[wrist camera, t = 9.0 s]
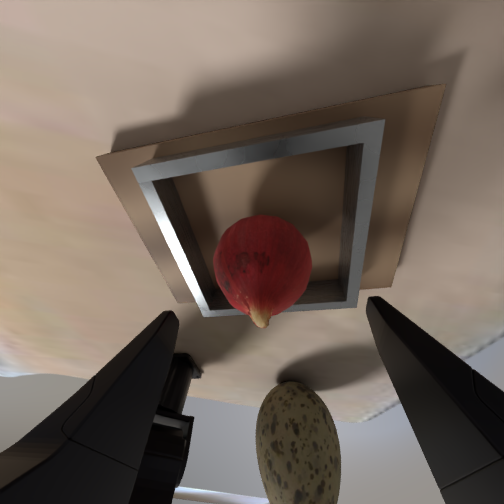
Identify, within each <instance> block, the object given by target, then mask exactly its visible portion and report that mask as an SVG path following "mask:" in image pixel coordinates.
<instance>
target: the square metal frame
mask: <svg viewBox="0 0 504 504" xmlns="http://www.w3.org/2000/svg"><path fill="white" fill-rule="evenodd" d="M384 125H385V119H381V118H373V117H366V116H363V117H358V118H353V119H348V120H343V121H338V122H333V123H328V124H323V125H318V126H313V127H308V128H303V129H298V130H293V131H288V132H283V133H278V134H273V135H268V136H263V137H258V138H252V139H247V140H242V141H237V142H232V143H227V144H222V145H217V146H212V147H207V148H202V149H197V150H192V151H187V152H182V153H177V154H172V155H167V156H162V157H157V158H152V159H150V160H148V161H146V162H144V163H141V164H139V165H137V166H135V167H133V168H131V169H132V171H133V173H134V175H135V177H136V179H137V181H138V183H139V185H140V188H141V190H142V192H143V194H144V196H145V198H146V200H147V202H148V204H149V206H150V208H151V210H152V212H153V214H154V216H155V218H156V220H157V222H158V224H159V226H160V229H161V231H162V233H163V235H164V237H165V239H166V241H167V243H168V245H169V247H170V249H171V251H172V253H173V255H174V257H175V259H176V261H177V263H178V265H179V267H180V269H181V272H182V274H183V276H184V278H185V280H186V282H187V284H188V286H189V288H190V290H191V292H192V294H193V296H194V298H195V300H196V302H197V304H198V306H199V308H200V310H201V313H202V315H203V317H215V316H231V315H247V314H244V313H243V312H241V311H239V310H237V309H236V308H234V307H233V306H232V305H231V304H230V303H229V301H228V299H227V298H226V296H225V295H224V293H223V292H222V290H221V289H216V288H215V286H214V283H213V281H212V278H211V275H210V273H209V270H208V268H207V265H206V263H205V260H204V258H203V255H202V252H201V250H200V247H199V245H198V242H197V240H196V237H195V234H194V232H193V229H192V227H191V224H190V222H189V219H188V217H187V214H186V211H185V209H184V206H183V204H182V201H181V199H180V196H179V193H178V191H177V188H176V186H175V183H174V181H173V178H172V177H175V176H181V175H186V174H192V173H197V172H203V171H209V170H214V169H220V168H225V167H231V166H236V165H242V164H248V163H253V162H259V161H264V160H270V159H275V158H281V157H286V156H292V155H298V154H303V153H309V152H314V151H320V150H325V149H331V148H336V147H342V146H347V151H346V166H345V181H344V195H343V210H342V225H341V240H340V254H339V269H338V279H332V280H320V281H308V284H307V287H306V290H305V291H304V293H303V294H302V295H301V296H300V297H299V299H298V300H297V301H296V302H295V303H294V304H293V305H292V306H291V307H289V308H288V309H286V310H284V311H282V312H294V311H310V310H326V309H342V308H357V302H358V295H359V289H360V282H361V276H362V269H363V262H364V256H365V249H366V243H367V236H368V230H369V223H370V217H371V210H372V203H373V197H374V190H375V184H376V177H377V171H378V164H379V157H380V151H381V144H382V138H383V131H384Z"/></svg>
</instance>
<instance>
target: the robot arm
mask: <svg viewBox="0 0 504 504" xmlns="http://www.w3.org/2000/svg"><path fill="white" fill-rule="evenodd" d="M366 315H367V318H368V321H369V324H370V327H371V330H372V334H373V337H374V340H375V343H376V346H377V349H378V352H379V354H380V356H381V359H382V361H383V363H384V365H385V368H386V370H387V372H388V374H389V377H390V379H391V381H392V383H393V386H394V388H395V390H396V393H397V395H398V397H399V399H400V402H401V404H402V406H403V408H404V410H405V413H406V415H407V417H408V419H409V422H410V424H411V426H412V429H413V431H414V433H415V435H416V437H417V440H418V442H419V444H420V447H421V449H422V451H423V453H424V456H425V458H426V460H427V463H428V465H429V467H430V469H431V472H432V474H433V476H434V478H435V481H436V483H437V485H438V487H439V489H440V492H441V494H442V497H443V499H444V501H445V504H504V392H503V391H502V390H501V389H499V388H498V387H497V386H495V385H494V384H493V383H491V382H490V381H489V380H487V379H486V378H485V377H484V376H482V375H480V374H479V373H478V372H477V371H476V370H474V369H472V368H471V367H470V366H469V365H468V364H466V363H465V362H464V361H463V360H461V359H460V358H459V357H458V356H456V355H455V354H454V353H452V352H451V351H450V350H449V349H447V348H446V347H445V346H443V345H442V344H441V343H439V342H438V341H437V340H436V339H434V338H433V337H432V336H430V335H429V334H428V333H427V332H425V331H424V330H423V329H421V328H420V327H419V326H418V325H416V324H415V323H414V322H412V321H411V320H410V319H408V318H407V317H406V316H405V315H403V314H402V313H401V312H399V311H398V310H397V309H396V308H394V307H393V306H392V305H390V304H389V303H388V302H387V301H385V300H384V299H383V298H381V297H379V296H372V297H369V298H368V301H367V306H366ZM178 329H179V320H178V318H177V317H176V315H175V313H174V312H173V311H172V310H169V311H163V312H162V313H161V314H160V315H159V316H158V317H157V318H156V319H155V320H153V321H152V322H151V323H150V324H149V325H148V326H147V327H146V328H145V329H144V330H143V331H142V332H141V333H140V334H138V335H137V336H136V337H135V338H134V339H133V340H132V341H131V342H130V343H129V344H128V345H127V346H126V347H124V348H123V349H122V350H121V351H120V352H119V353H118V354H117V355H116V356H115V357H114V358H113V359H112V360H111V361H109V362H108V363H107V364H106V365H105V366H104V367H103V368H102V369H101V370H100V371H99V372H98V373H97V374H96V375H95V376H93V377H92V378H91V379H90V380H89V381H88V382H87V383H86V384H85V385H84V386H82V387H81V388H80V389H79V390H78V391H77V392H76V393H75V394H74V395H73V396H71V397H70V398H69V399H68V400H67V401H65V402H64V403H63V404H62V405H61V406H60V407H58V408H57V409H56V410H55V411H54V412H53V413H51V414H50V415H49V416H48V417H47V418H45V419H44V420H43V421H42V422H41V423H39V424H38V425H37V426H36V427H35V428H33V429H32V430H31V431H30V432H29V433H27V434H26V435H25V436H24V437H23V438H22V439H20V440H19V441H18V442H16V443H15V444H14V445H12V446H11V447H9V448H8V449H6V450H4V451H3V452H1V453H0V504H172V499H173V495H174V491H175V488H177V487H178V486H179V484H180V481H181V479H182V477H183V474H184V471H185V467H186V463H187V459H188V453H189V447H190V441H191V434H192V428H193V422H194V417H193V416H185V415H182V411H183V407H184V403H185V400H186V397H187V393H188V390H189V386H190V382H191V379H198V378H201V375H202V374H201V373H200V371H199V370H198V368H197V367H196V365H195V364H194V362H193V361H192V359H191V358H190V356H189V355H188V354H173V353H174V349H175V344H176V339H177V334H178Z"/></svg>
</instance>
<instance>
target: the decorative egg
mask: <svg viewBox="0 0 504 504" xmlns="http://www.w3.org/2000/svg"><path fill="white" fill-rule="evenodd" d="M256 451H257V459H258V465H259V470H260V474H261V478H262V482H263V485H264V488H265V492H266V494H267V497H268V500H269V502H270V504H337V501H338V496H339V489H340V478H341V455H340V445H339V439H338V435H337V430H336V427H335V424H334V421H333V419H332V416H331V414H330V412H329V410H328V408H327V407H326V405H325V403H324V402H323V401H322V399H321V398H320V397H319V396H318V395H317V394H316V393H315V392H314V391H313V390H312V389H310V388H309V387H307V386H306V385H304V384H301V383H299V382H293V381H290V382H284V383H281V384H279V385H277V386H276V387H274V388H273V389H272V390H271V391H270V392H269V393H268V395H267V396H266V397H265V399H264V401H263V403H262V405H261V407H260V410H259V414H258V418H257V424H256Z"/></svg>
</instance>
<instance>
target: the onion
mask: <svg viewBox="0 0 504 504" xmlns="http://www.w3.org/2000/svg"><path fill="white" fill-rule="evenodd" d="M213 264H214V271H215V275H216V280H217V283H218V285H219V286H220V288H221V290H222V292H223V293H224V295H225V296H226V298H227V299H228V301H229V303H230V304H231V305H232V306H233V307H234V308H236V309H237V310H239V311H241V312H243V313H244V314H247V315H249V316H250V317H251V318H252V320H253V322H254V324H255V325H256V326H257V327H260V328H266V327H267V326H268V325H269V319H270V318H271V316H273V315H277V314H279V313H281V312H282V311H284V310H286V309H288V308H289V307H291V306H292V305H293V304H294V303H295V302H296V301H297V300H298V299H299V297H300V296H301V295H302V294H303V293H304V291H305V290H306V287H307V284H308V281H309V277H310V274H311V270H312V258H311V254H310V249H309V245H308V242H307V241H306V239H305V238H304V237H303V235H302V234H301V233H300V232H299V231H298V230H297V228H296V227H295V226H294V225H293V224H291V223H289V222H287V221H285V220H283V219H281V218H279V217H276V216H268V215H255V216H251V217H246V218H242V219H240V220H239V221H237V222H236V223H235V224H233V225H232V226H230V227H229V228H227V229H226V231H225V232H224V233H223V235H222V237H221V239H220V241H219V243H218V246H217V248H216V250H215V254H214V258H213Z"/></svg>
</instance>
